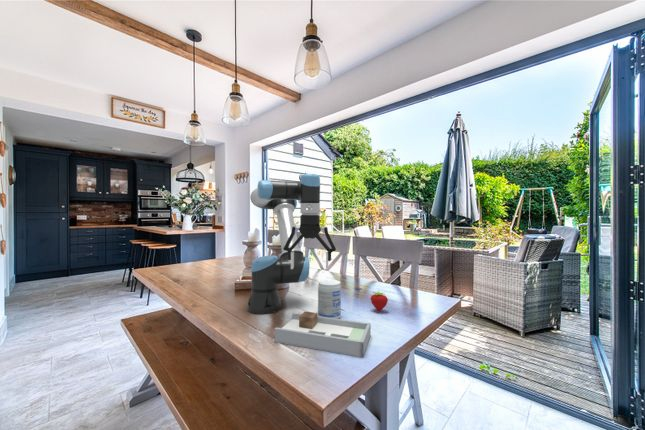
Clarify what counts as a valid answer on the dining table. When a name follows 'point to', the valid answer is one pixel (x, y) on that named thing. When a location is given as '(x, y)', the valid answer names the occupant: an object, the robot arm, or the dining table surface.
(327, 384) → the dining table surface
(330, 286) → the supplement tub
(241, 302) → the dining table surface
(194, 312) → the dining table surface
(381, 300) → the strawberry
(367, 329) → the box
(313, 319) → the walnut block
